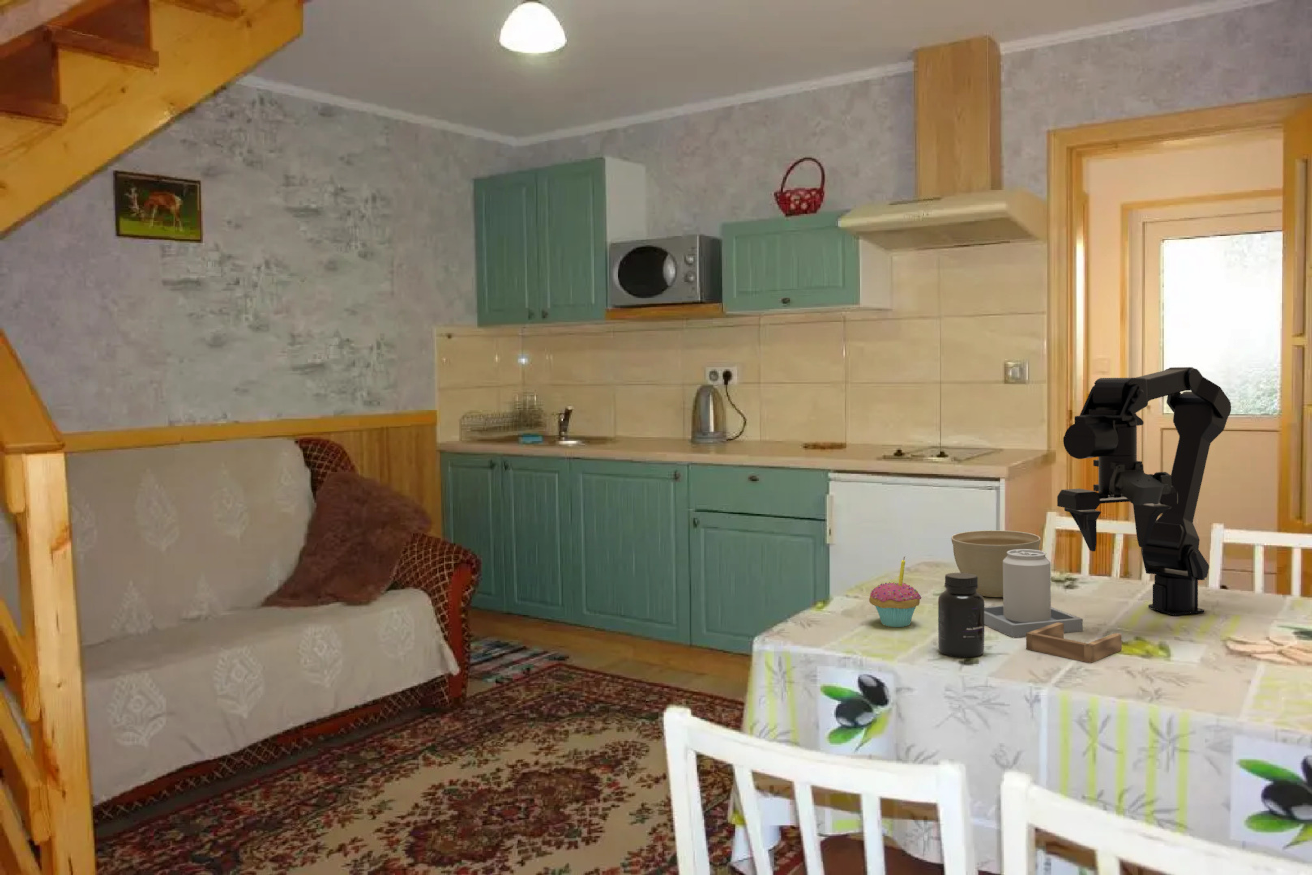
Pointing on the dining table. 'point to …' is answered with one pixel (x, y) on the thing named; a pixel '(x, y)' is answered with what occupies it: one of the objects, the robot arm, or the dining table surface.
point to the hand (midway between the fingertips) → (1117, 549)
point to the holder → (1071, 644)
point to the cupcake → (895, 601)
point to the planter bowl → (989, 555)
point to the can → (1026, 586)
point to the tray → (1000, 623)
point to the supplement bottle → (961, 617)
